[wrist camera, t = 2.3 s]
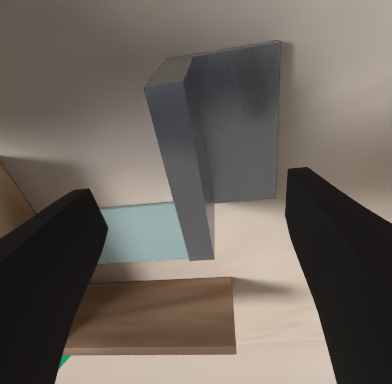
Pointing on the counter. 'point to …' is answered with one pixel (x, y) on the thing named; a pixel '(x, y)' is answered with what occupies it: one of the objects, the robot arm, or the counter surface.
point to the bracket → (216, 132)
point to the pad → (142, 234)
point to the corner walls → (140, 306)
